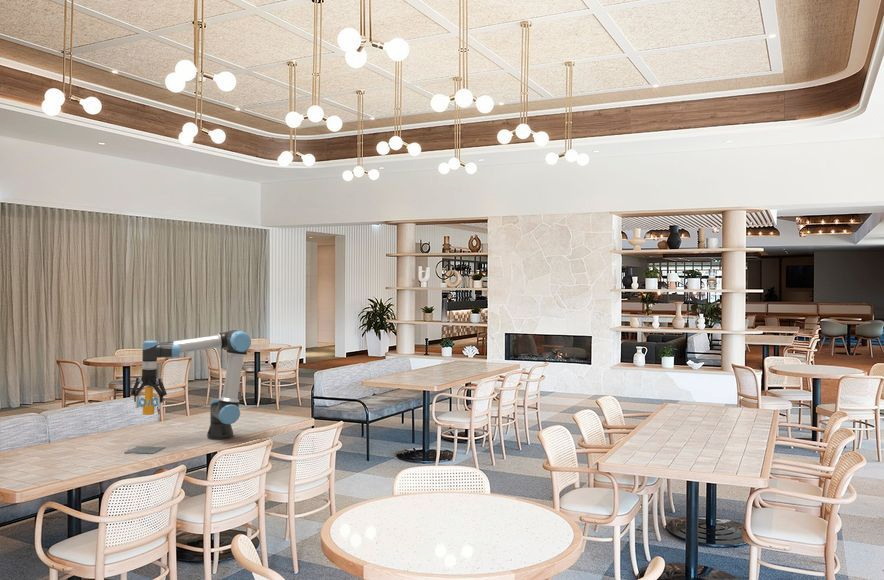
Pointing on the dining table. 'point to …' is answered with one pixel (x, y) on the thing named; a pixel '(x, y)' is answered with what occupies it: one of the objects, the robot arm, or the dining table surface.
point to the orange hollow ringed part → (148, 401)
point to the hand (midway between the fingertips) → (148, 408)
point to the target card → (144, 450)
